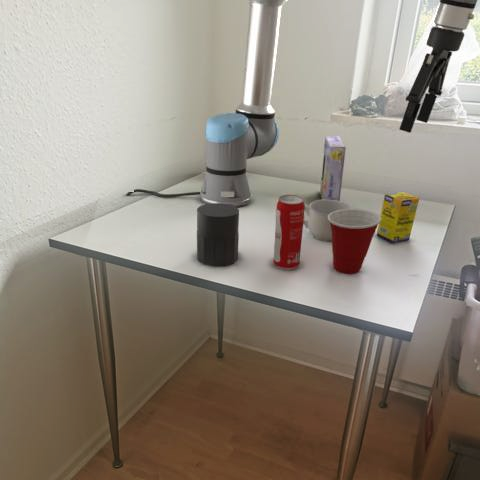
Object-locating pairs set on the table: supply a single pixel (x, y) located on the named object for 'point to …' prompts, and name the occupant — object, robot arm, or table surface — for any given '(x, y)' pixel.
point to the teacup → (322, 217)
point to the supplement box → (397, 217)
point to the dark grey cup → (217, 234)
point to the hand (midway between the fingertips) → (413, 126)
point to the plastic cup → (351, 237)
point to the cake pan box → (332, 168)
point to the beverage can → (288, 231)
